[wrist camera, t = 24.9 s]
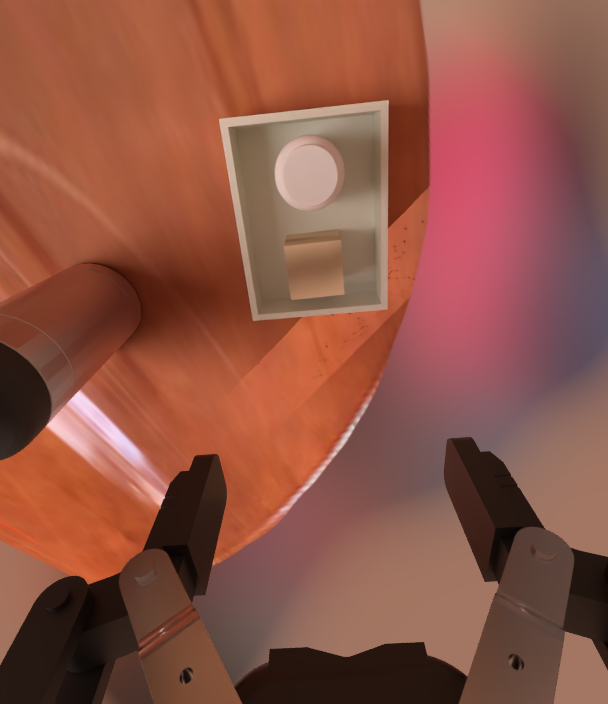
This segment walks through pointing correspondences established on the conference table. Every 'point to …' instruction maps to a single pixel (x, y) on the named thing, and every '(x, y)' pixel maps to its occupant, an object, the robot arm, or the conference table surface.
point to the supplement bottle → (309, 172)
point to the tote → (282, 219)
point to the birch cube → (314, 264)
